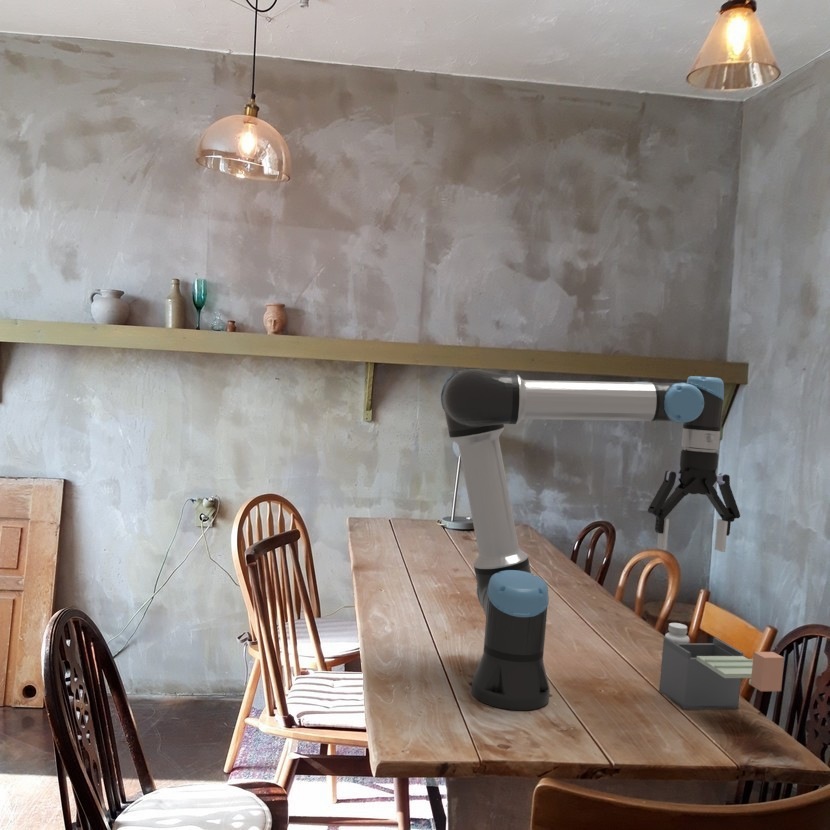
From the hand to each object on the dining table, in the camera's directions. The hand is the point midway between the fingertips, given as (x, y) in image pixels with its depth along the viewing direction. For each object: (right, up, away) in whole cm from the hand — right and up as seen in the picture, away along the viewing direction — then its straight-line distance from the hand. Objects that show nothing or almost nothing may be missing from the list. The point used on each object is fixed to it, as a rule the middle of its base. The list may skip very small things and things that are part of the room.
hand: (690, 549), depth 175 cm
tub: (-1, -29, -8) cm, 30 cm away
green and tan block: (+2, -20, -22) cm, 30 cm away
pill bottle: (0, -29, +11) cm, 31 cm away
